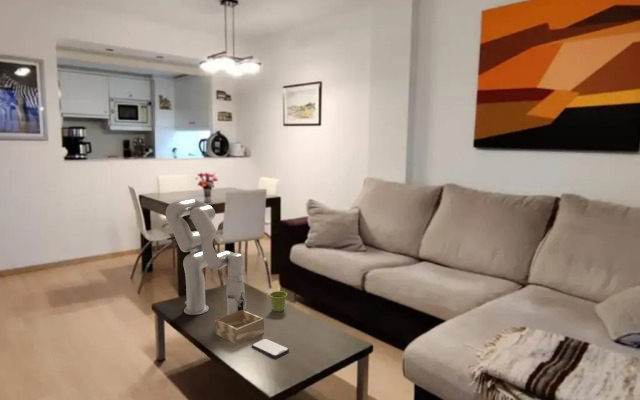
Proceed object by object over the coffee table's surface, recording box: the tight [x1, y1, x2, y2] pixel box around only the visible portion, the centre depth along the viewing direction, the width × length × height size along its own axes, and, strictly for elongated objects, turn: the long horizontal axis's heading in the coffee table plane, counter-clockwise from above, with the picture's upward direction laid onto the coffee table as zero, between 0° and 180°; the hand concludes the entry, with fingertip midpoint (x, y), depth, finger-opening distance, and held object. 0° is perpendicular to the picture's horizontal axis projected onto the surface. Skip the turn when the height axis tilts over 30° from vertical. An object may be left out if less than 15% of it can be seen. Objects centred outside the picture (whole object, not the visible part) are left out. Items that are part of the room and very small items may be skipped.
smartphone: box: [251, 338, 290, 359], centre depth 184 cm, size 9×2×16 cm
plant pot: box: [269, 290, 288, 312], centre depth 226 cm, size 9×9×9 cm
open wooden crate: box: [214, 310, 265, 345], centre depth 198 cm, size 16×16×7 cm
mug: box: [226, 296, 247, 315], centre depth 215 cm, size 10×7×12 cm, turn 123°
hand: (236, 311), depth 216 cm, fingers closed on mug, 6 cm apart
